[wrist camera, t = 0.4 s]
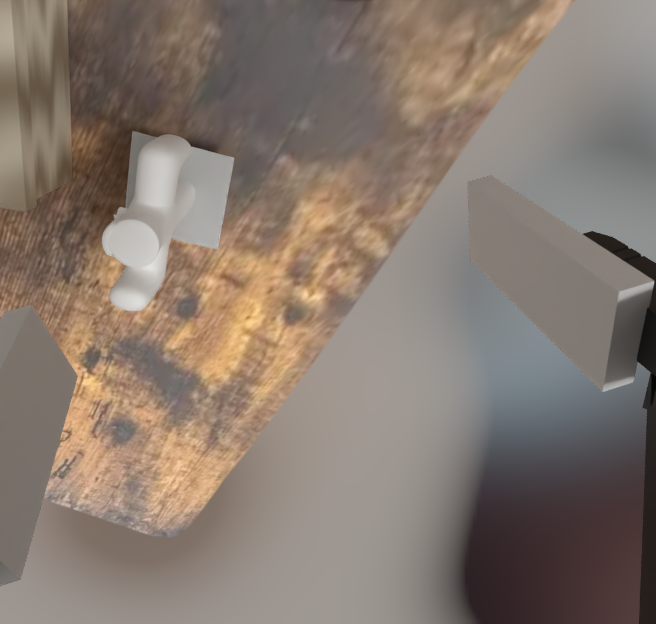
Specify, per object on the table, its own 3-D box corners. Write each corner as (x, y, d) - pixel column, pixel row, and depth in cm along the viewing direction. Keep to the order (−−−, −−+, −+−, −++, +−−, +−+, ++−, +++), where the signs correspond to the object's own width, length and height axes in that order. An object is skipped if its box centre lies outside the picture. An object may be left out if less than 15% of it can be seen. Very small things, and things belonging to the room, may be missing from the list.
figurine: (243, 135, 40) (208, 177, 26) (222, 246, 44) (182, 332, 30) (148, 109, 39) (62, 139, 25) (136, 226, 43) (56, 305, 29)
